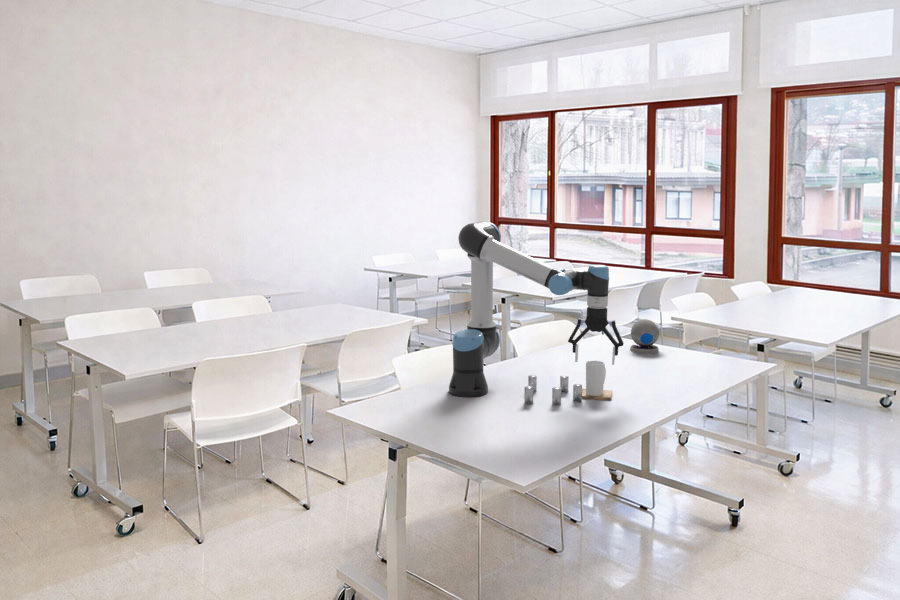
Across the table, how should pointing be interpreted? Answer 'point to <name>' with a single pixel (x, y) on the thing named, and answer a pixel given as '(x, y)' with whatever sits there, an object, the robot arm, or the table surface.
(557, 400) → the cylinder
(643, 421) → the table surface
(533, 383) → the cylinder
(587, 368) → the mug
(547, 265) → the robot arm
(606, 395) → the trivet
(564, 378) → the cylinder
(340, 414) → the table surface
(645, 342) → the webcam
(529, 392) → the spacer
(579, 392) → the cylinder
